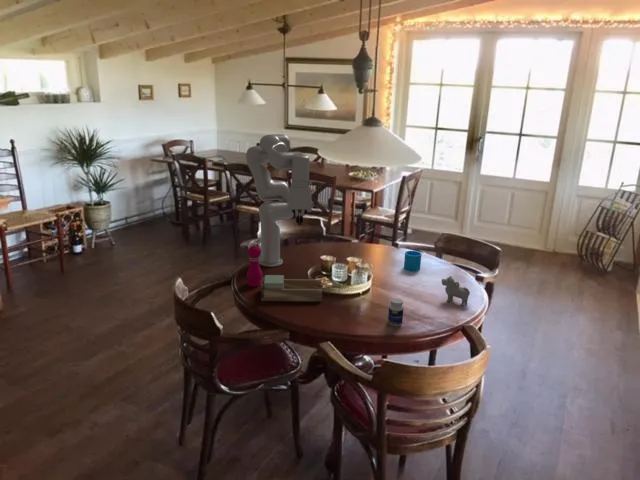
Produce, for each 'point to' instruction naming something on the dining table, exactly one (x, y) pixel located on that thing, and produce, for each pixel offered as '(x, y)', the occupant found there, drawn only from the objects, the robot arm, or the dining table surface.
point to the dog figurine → (455, 290)
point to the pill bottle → (395, 312)
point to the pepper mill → (254, 266)
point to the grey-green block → (274, 282)
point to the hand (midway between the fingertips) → (299, 224)
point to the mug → (412, 261)
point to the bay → (293, 291)
